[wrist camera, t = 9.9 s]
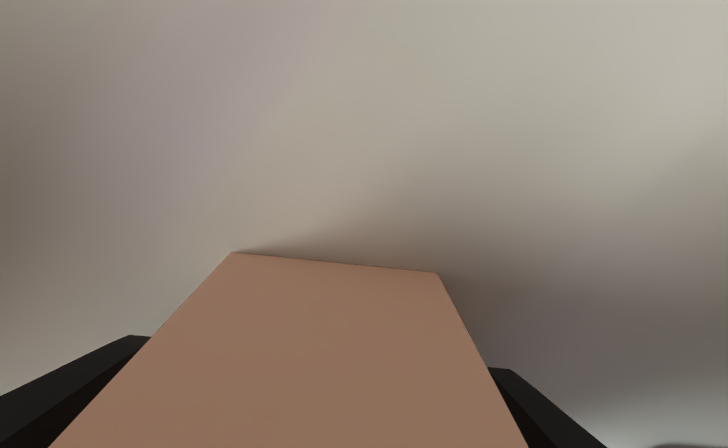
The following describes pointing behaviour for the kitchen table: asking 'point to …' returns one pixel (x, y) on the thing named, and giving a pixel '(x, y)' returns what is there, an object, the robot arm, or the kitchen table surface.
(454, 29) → the kitchen table surface
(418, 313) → the terracotta block
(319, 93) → the kitchen table surface
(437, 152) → the kitchen table surface
